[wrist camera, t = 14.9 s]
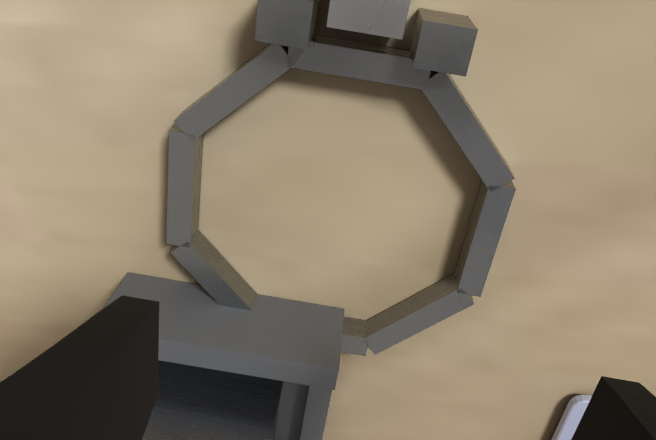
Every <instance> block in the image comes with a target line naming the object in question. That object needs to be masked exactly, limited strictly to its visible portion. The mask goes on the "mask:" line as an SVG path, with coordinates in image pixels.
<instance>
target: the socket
mask: <svg viewBox="0 0 656 440" xmlns="http://www.w3.org/2000/svg"><path fill="white" fill-rule="evenodd" d="M318 7H319V0H258V6H257V17H256V28H255V40H254V41H259V42H265V43H271V44H269V45H268V46H267V47H265V48H264V49H263V50H262V51H260V52H259V53H258V54H256V55H255V56H254V57H253V58H251V59H250V60H249V61H247V62H246V63H245V64H243V65H242V66H241V67H240V68H238V69H237V70H236V71H234V72H233V73H232V74H231V75H229V76H228V77H227V78H225V79H224V80H223V81H222V82H220V83H219V84H218V85H216V86H215V87H214V88H212V89H211V90H210V91H209V92H207V93H206V94H205V95H203V96H202V97H201V98H200V99H198V100H197V101H196V102H194V103H193V104H192V105H190V106H189V107H188V108H187V109H185V110H184V111H183V112H182V113H181V114H180V115H179V116H178V117H177V118H176V119H175V120H174V122H175V123H176V124H175V125H174V126H173V127H172V128H171V129H170V130H169V155H168V196H167V237H166V244H171V245H175V246H174V247H173V249H172V251H171V252H170V253H171V254H172V255H173V256H174V257H175V258H176V259H177V261H178V262H179V263H180V264H181V265H182V266H183V267H184V268H185V269H186V270H187V271H188V272H189V273H190V274H191V275H192V276H193V277H194V278H195V279H196V280H197V282H198V283H199V284H200V285H201V286H202V287H203V288H204V289H205V290H206V291H207V292H208V293H209V294H210V295H211V296H212V297H213V298H214V299H215V300H216V301H217V303H218V304H219V305H221V306H227V307H233V308H239V309H245V310H251V311H252V310H253V306H254V303H255V300H256V297H257V293H256V292H255V291H254V290H253V289H252V288H251V287H250V286H249V285H248V284H247V283H246V281H245V280H244V279H243V278H242V277H241V276H240V275H239V274H238V273H237V272H236V271H235V269H234V268H233V267H232V266H231V265H230V264H229V263H228V262H227V261H226V260H225V258H224V257H223V256H222V255H221V254H220V253H219V252H218V251H217V250H216V249H215V248H214V246H213V245H212V244H211V243H210V242H209V241H208V240H207V239H206V238H205V237H204V235H203V234H202V233H201V232H200V231H199V230H198V226H199V207H200V188H201V169H202V150H203V133H204V132H206V131H207V130H208V129H210V128H211V127H212V126H214V125H215V124H216V123H218V122H219V121H220V120H222V119H223V118H224V117H226V116H227V115H228V114H230V113H231V112H232V111H234V110H235V109H236V108H238V107H239V106H240V105H242V104H243V103H244V102H246V101H247V100H248V99H250V98H251V97H253V96H254V95H255V94H257V93H258V92H259V91H261V90H262V89H263V88H265V87H266V86H267V85H269V84H270V83H271V82H273V81H274V80H275V79H277V78H278V77H279V76H281V75H282V74H283V73H285V72H286V71H287V70H289V69H290V68H296V69H302V70H308V71H314V72H320V73H326V74H331V75H337V76H343V77H349V78H355V79H361V80H367V81H373V82H379V83H385V84H391V85H397V86H403V87H408V88H414V89H420V90H422V91H423V93H424V94H425V96H426V97H427V99H428V100H429V102H430V103H431V105H432V106H433V107H434V109H435V110H436V112H437V113H438V115H439V116H440V118H441V119H442V121H443V122H444V124H445V125H446V127H447V128H448V130H449V131H450V133H451V134H452V136H453V137H454V139H455V140H456V142H457V143H458V145H459V146H460V148H461V149H462V151H463V152H464V154H465V155H466V156H467V158H468V159H469V161H470V162H471V164H472V165H473V167H474V168H475V170H476V171H477V173H478V174H479V176H480V177H481V179H482V182H481V185H480V189H479V192H478V196H477V199H476V202H475V206H474V209H473V212H472V216H471V219H470V223H469V226H468V229H467V233H466V236H465V239H464V243H463V246H462V250H461V253H460V256H459V260H458V263H457V267H456V270H455V273H454V274H452V275H450V276H448V277H446V278H444V279H443V280H441V281H439V282H437V283H435V284H433V285H431V286H430V287H428V288H426V289H424V290H422V291H420V292H418V293H417V294H415V295H413V296H411V297H409V298H407V299H405V300H404V301H402V302H400V303H398V304H396V305H394V306H392V307H391V308H389V309H387V310H385V311H383V312H381V313H379V314H378V315H376V316H374V317H372V318H370V319H368V320H366V321H365V320H359V319H353V318H347V317H344V318H343V329H342V340H341V351H340V352H344V353H350V354H356V355H362V356H365V355H366V350H367V346H368V347H369V348H370V349H371V350H372V352H373V353H374V354H377V353H379V352H381V351H383V350H385V349H387V348H389V347H391V346H393V345H395V344H397V343H399V342H401V341H403V340H405V339H407V338H409V337H411V336H412V335H414V334H416V333H418V332H420V331H422V330H424V329H426V328H428V327H430V326H432V325H434V324H436V323H438V322H440V321H442V320H444V319H446V318H448V317H450V316H452V315H453V314H455V313H457V312H459V311H461V310H463V309H465V308H467V307H469V306H471V305H473V304H474V303H473V299H472V295H473V296H479V297H481V294H482V291H483V287H484V284H485V281H486V278H487V275H488V272H489V269H490V266H491V263H492V260H493V257H494V254H495V251H496V248H497V245H498V242H499V239H500V236H501V233H502V229H503V226H504V223H505V220H506V217H507V214H508V211H509V208H510V205H511V202H512V199H513V196H514V193H515V190H516V189H515V187H514V185H513V182H512V180H513V179H514V177H513V175H512V172H511V170H510V168H509V166H508V165H507V163H506V161H505V160H504V158H503V157H502V155H501V154H500V152H499V151H498V149H497V148H496V146H495V144H494V143H493V141H492V140H491V138H490V137H489V135H488V134H487V132H486V131H485V129H484V127H483V126H482V124H481V123H480V121H479V120H478V118H477V117H476V115H475V114H474V112H473V110H472V109H471V107H470V106H469V104H468V103H467V101H466V100H465V98H464V97H463V95H462V94H461V92H460V90H459V89H458V87H457V86H456V84H455V83H454V81H453V80H452V78H451V77H450V75H449V74H455V75H461V76H466V74H467V70H468V66H469V62H470V58H471V54H472V50H473V47H474V43H475V39H476V35H477V31H478V29H477V28H476V26H475V25H474V24H473V22H472V21H471V20H470V18H469V17H468V16H463V15H457V14H451V13H445V12H439V11H433V10H427V9H421V8H419V9H418V14H417V19H416V24H415V29H414V33H413V38H412V43H411V48H410V51H408V50H402V49H396V48H390V47H384V46H378V45H372V44H366V43H360V42H354V41H348V40H342V39H337V38H331V37H325V36H319V35H315V29H316V22H317V14H318Z"/></svg>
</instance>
